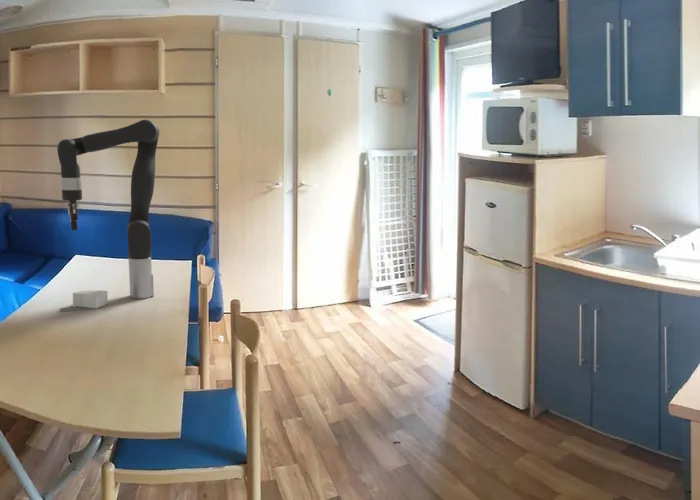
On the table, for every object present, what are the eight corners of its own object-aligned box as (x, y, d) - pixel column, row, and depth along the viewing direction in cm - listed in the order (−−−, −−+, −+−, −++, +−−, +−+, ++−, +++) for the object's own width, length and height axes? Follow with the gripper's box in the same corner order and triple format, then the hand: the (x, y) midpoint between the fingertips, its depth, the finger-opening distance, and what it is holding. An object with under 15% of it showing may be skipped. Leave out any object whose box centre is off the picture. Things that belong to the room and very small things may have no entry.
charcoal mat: (90, 305, 232) (90, 304, 232) (92, 308, 228) (92, 307, 228) (60, 308, 226) (60, 307, 226) (61, 311, 222) (61, 311, 222)
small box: (72, 306, 228) (96, 308, 227) (72, 292, 228) (96, 295, 226) (84, 301, 236) (107, 304, 235) (84, 288, 235) (107, 291, 234)
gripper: (83, 189, 231) (85, 231, 234) (79, 186, 242) (82, 227, 246) (62, 190, 227) (65, 232, 231) (60, 187, 238) (62, 228, 242)
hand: (74, 229), depth 238 cm, fingers closed
